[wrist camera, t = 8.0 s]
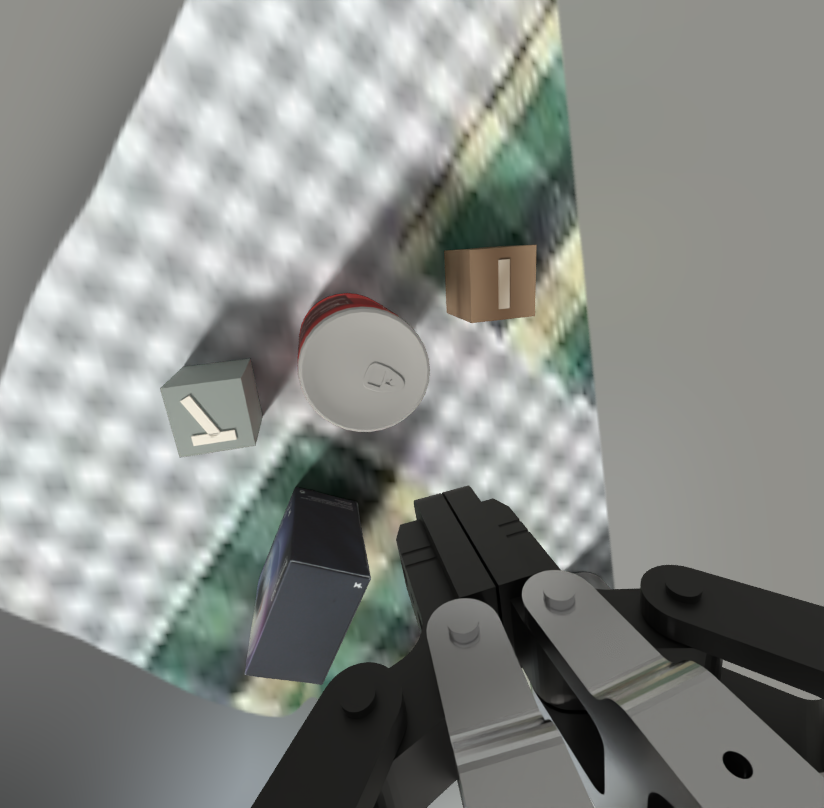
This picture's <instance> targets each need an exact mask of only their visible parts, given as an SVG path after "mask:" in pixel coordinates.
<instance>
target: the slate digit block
mask: <svg viewBox="0 0 824 808" xmlns="http://www.w3.org/2000/svg"><path fill="white" fill-rule="evenodd" d="M160 390H161V394H162V397H163V401H164V404H165V408H166V411H167V415H168V418H169V422H170V425H171V429H172V432H173V436H174V439H175V443H176V446H177V450H178V453H179V457H180V458H181V457H187V456H194V455H200V454H206V453H213V452H219V451H225V450H232V449H238V448H244V447H250V446H255V445H256V441H257V437H258V433H259V429H260V425H261V421H262V417H263V416H262V412H261V407H260V402H259V397H258V392H257V387H256V382H255V378H254V373H253V368H252V363H251V358H250V359H242V360H234V361H225V362H217V363H209V364H201V365H193V366H184V367H182V368H181V369H180V370H179V371H178V372H177V373H176V374H175V375H174V376H173V377H172V378H171V379H170V380H169V381H167V382H166V383H165V384H164V385H163V386H162V387H161V388H160Z"/></svg>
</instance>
